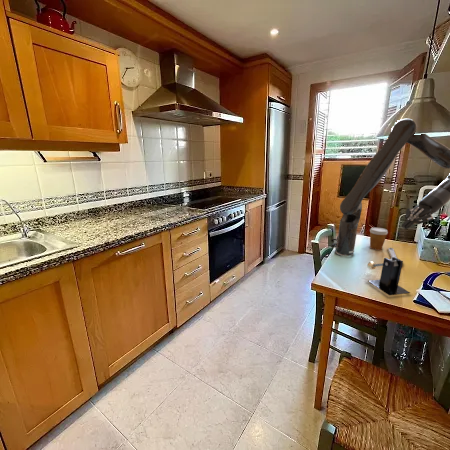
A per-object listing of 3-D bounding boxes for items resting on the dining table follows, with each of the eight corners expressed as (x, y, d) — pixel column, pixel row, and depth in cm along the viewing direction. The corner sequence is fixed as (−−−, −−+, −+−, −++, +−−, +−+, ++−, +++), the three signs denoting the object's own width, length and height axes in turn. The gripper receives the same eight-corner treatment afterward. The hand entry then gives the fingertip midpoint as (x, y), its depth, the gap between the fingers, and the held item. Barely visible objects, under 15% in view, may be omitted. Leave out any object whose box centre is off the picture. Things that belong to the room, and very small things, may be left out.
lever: (366, 270, 114) (364, 262, 115) (373, 269, 115) (371, 261, 116) (392, 267, 100) (390, 259, 101) (400, 267, 100) (398, 258, 101)
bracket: (367, 283, 110) (372, 254, 106) (386, 281, 112) (392, 253, 108) (388, 297, 99) (395, 266, 95) (409, 295, 100) (416, 264, 96)
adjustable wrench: (387, 249, 149) (387, 246, 148) (400, 251, 145) (400, 248, 145) (388, 264, 128) (389, 261, 128) (403, 267, 125) (404, 264, 124)
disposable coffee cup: (384, 246, 153) (387, 228, 149) (385, 251, 145) (388, 232, 141) (367, 244, 157) (369, 226, 154) (366, 249, 149) (370, 230, 146)
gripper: (418, 191, 113) (388, 218, 116) (445, 197, 100) (411, 226, 103) (426, 202, 115) (397, 228, 117) (453, 209, 102) (420, 238, 105)
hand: (403, 227), depth 110 cm, fingers closed
